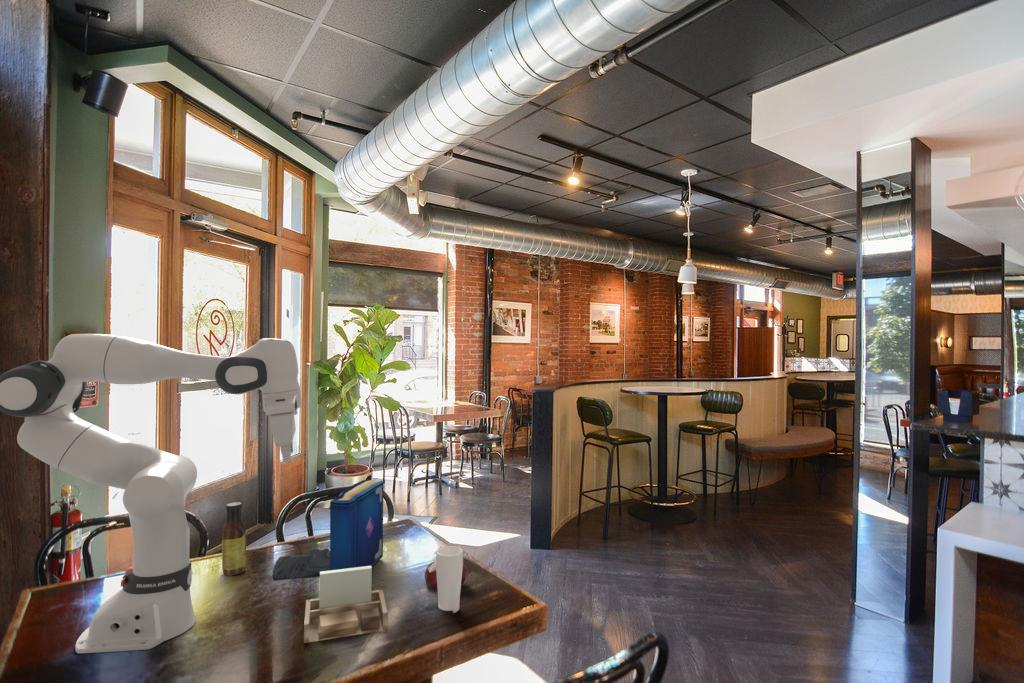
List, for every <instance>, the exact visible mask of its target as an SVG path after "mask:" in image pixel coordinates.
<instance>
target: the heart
mask: <svg viewBox="0 0 1024 683" xmlns="http://www.w3.org/2000/svg"><path fill="white" fill-rule="evenodd" d="M424 572H425V573H424V580H425V585H426V586H427V587H428V588H431V589H432V590H435V589H436V590H438V589H437V575H436V559H435V560H433V561H431V563H429V564H428V566H427V567H426V569H425V571H424ZM468 577H469V569H468V568H467V566H466V565H465V563H464V562H463V570H462V580H461V586H463V585H464V584H465V582H466V581H468Z"/></svg>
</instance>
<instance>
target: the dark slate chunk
mask: <svg viewBox="0 0 1024 683" xmlns="http://www.w3.org/2000/svg"><path fill="white" fill-rule="evenodd" d="M321 571H330V548H324V549H319V548H315V549H312V550H311V551H310V553H309V554H300V555H285V556H284V555H282V556H279V558H277V560H276V562H275V564H274V567H273V570H272V576H271V577H272V578H273V581H279V580H280V581H283V580H296V579H308V578H320V572H321Z"/></svg>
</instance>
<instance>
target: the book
mask: <svg viewBox="0 0 1024 683" xmlns="http://www.w3.org/2000/svg"><path fill="white" fill-rule="evenodd" d="M329 507H330V508H329V516H330V517H329V525H330V526H329V528H330V529H329V551H330V570H338V569H347V568H355V567H364V566H371V567H372V568H373V567H374V566H375V565H377V563H379V561H380V560H381V559H382V558H383V557H384V546H383V545H384V480H379V481H378V480H375V479H370V480H367V479H366V478H365V479H363V480H361V481H358V482H356V483H354V484H352V485H351V486H349V487H348V488H346V489H344V490H343V491H341V492H340V493H339V495H338V496H335V497H334V498H333V499H332V500H331V501H330V503H329Z"/></svg>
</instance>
